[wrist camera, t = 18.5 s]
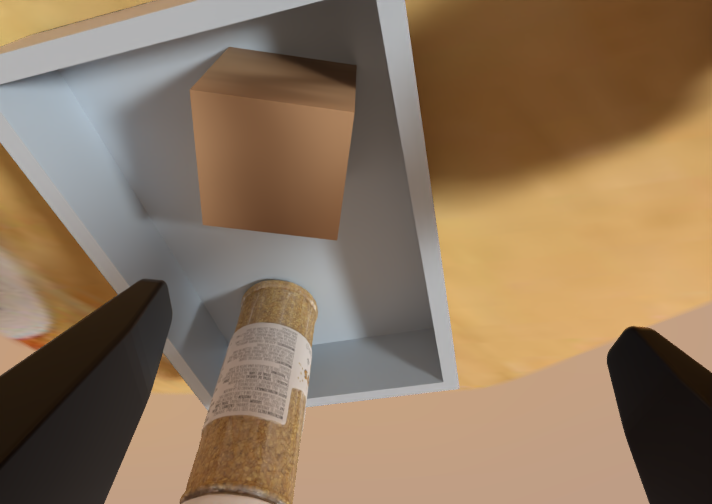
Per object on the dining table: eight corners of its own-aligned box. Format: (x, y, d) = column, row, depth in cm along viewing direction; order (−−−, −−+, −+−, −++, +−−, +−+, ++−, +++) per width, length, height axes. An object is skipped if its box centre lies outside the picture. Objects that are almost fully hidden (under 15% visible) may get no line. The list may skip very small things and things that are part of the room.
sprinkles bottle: (309, 336, 28) (274, 604, 17) (236, 321, 27) (153, 591, 16) (328, 285, 25) (301, 566, 14) (247, 266, 24) (156, 548, 14)
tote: (389, -65, 15) (397, -55, 12) (447, 327, 28) (459, 388, 24) (27, 35, 18) (-57, 69, 14) (231, 357, 30) (213, 418, 27)
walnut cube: (356, 65, 18) (354, 112, 14) (342, 176, 21) (337, 240, 17) (229, 46, 17) (189, 89, 13) (234, 162, 20) (202, 224, 16)
